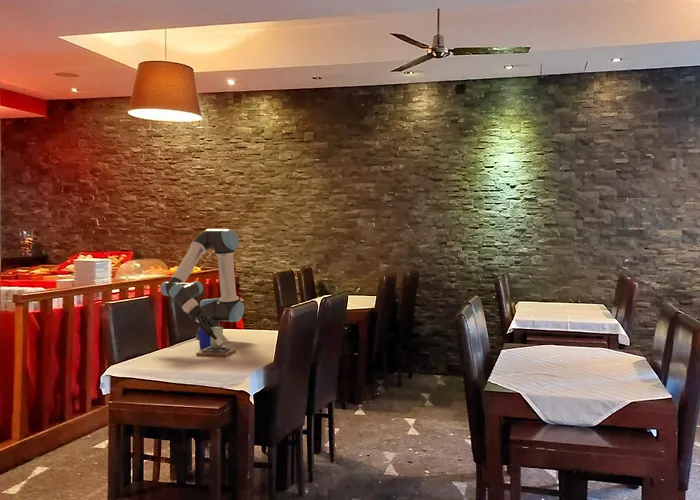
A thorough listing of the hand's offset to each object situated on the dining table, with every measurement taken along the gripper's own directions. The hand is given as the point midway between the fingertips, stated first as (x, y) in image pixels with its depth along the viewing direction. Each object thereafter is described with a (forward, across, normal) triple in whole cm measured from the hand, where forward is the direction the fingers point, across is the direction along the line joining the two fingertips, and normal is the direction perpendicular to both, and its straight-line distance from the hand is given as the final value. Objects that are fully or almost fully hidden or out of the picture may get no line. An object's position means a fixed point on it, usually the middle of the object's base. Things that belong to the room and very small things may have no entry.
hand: (223, 342), depth 307 cm
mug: (-7, -18, -15) cm, 24 cm away
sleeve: (0, 0, -5) cm, 5 cm away
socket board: (+2, 0, -7) cm, 7 cm away
